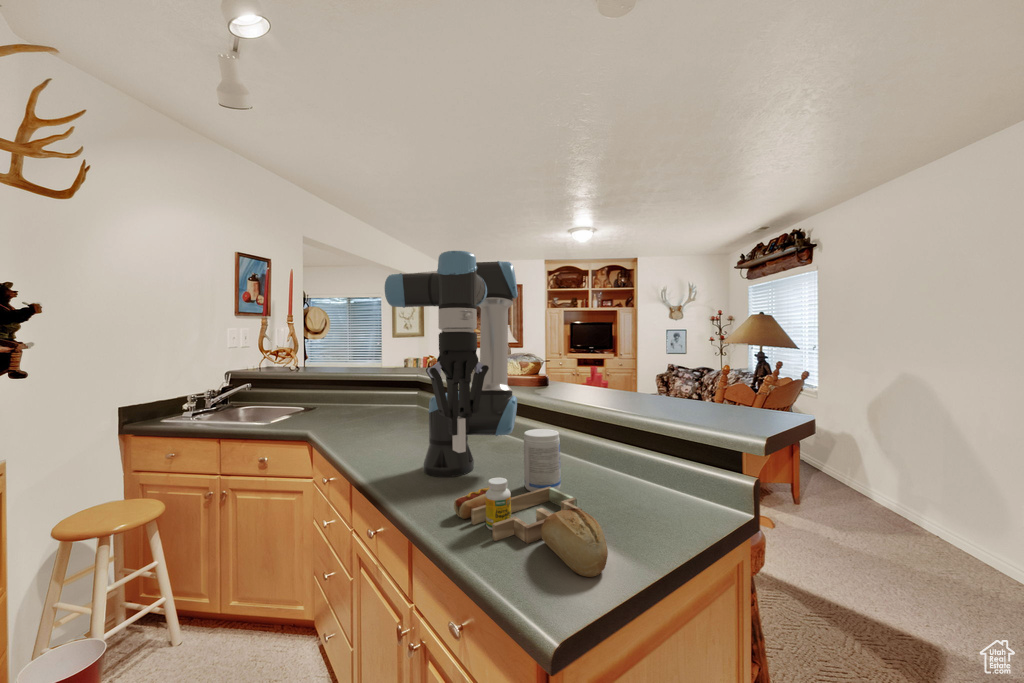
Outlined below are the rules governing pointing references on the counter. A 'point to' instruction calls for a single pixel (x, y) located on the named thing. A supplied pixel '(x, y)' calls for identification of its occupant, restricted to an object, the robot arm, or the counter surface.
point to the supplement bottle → (497, 501)
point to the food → (470, 502)
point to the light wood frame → (521, 502)
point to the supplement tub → (542, 459)
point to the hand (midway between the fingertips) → (459, 450)
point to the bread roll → (576, 541)
